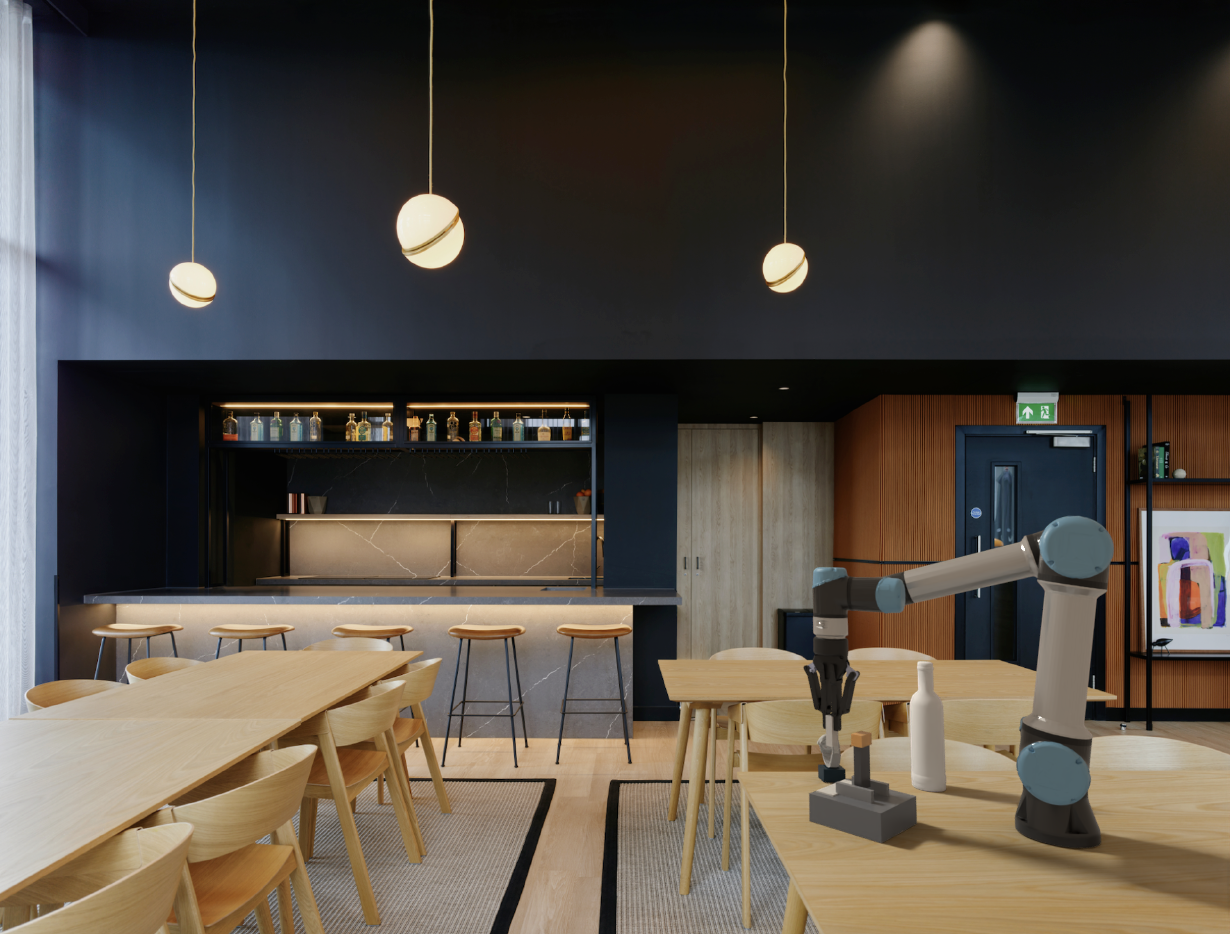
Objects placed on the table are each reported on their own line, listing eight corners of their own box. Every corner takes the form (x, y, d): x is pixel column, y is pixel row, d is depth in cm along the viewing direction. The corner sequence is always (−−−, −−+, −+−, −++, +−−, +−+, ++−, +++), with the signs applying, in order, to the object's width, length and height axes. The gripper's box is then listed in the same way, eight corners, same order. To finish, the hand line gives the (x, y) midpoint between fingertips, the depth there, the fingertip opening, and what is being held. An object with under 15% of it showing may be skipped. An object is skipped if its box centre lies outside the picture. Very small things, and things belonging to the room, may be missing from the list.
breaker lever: (872, 787, 157) (871, 732, 159) (862, 791, 154) (861, 736, 156) (862, 784, 159) (861, 730, 160) (852, 788, 156) (851, 733, 157)
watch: (836, 774, 189) (836, 730, 191) (848, 784, 181) (847, 738, 183) (815, 774, 189) (814, 730, 190) (825, 784, 181) (825, 738, 182)
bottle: (912, 790, 178) (909, 663, 182) (909, 780, 186) (906, 659, 189) (948, 793, 176) (944, 665, 179) (944, 784, 183) (940, 660, 187)
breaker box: (916, 823, 156) (915, 784, 157) (881, 843, 145) (880, 800, 146) (847, 804, 167) (846, 767, 168) (809, 820, 156) (809, 781, 157)
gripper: (796, 634, 167) (797, 742, 165) (848, 640, 158) (851, 754, 155) (813, 632, 173) (815, 736, 170) (865, 638, 163) (868, 748, 160)
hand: (832, 745), depth 163 cm, fingers closed
